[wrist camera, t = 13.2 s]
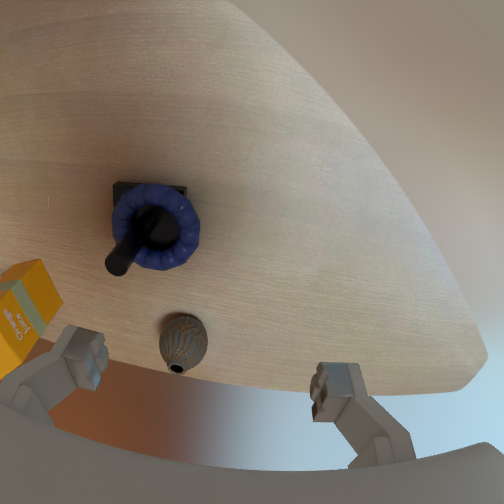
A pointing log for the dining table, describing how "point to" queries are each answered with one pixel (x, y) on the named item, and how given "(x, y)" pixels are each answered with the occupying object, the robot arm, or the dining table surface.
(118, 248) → the black post stand
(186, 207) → the ring
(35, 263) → the orange juice
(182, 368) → the vase
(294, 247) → the dining table surface
